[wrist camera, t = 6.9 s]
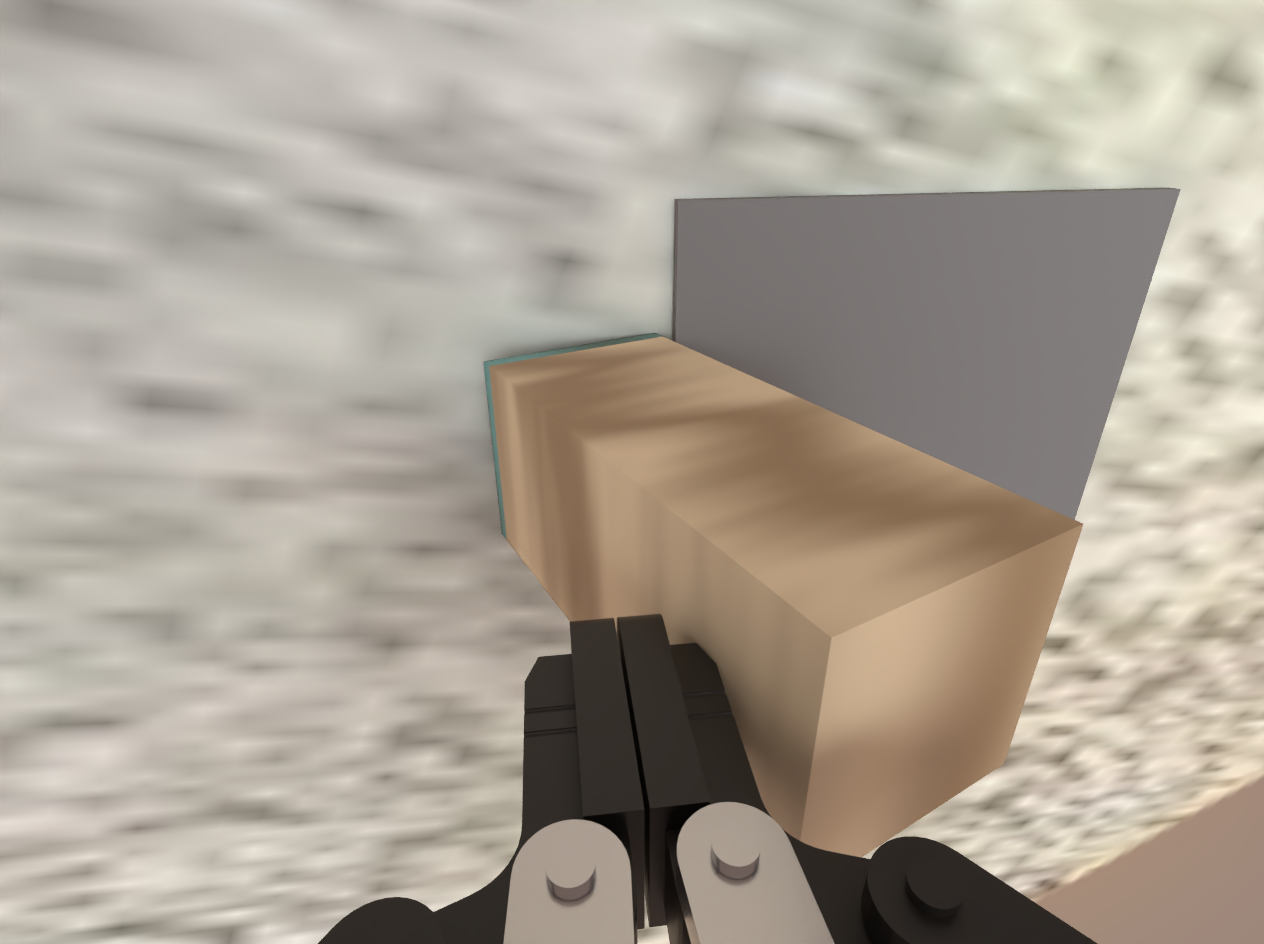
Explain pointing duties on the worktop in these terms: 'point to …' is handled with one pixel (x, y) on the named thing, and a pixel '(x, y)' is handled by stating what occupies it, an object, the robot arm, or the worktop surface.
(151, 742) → the worktop surface
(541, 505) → the maple block
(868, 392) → the slate mat
